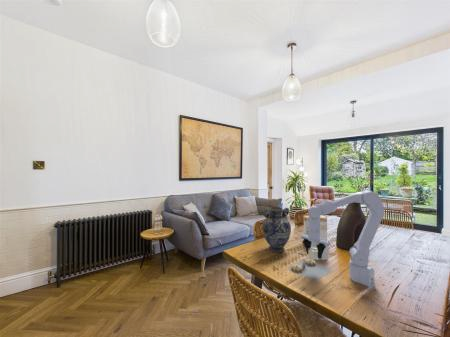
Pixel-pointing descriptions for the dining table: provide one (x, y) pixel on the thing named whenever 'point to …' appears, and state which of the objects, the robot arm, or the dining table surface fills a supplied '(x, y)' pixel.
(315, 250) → the octagonal pipe segment
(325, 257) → the photo printer
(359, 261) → the robot arm
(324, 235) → the coffeecake box
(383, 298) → the dining table surface
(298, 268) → the gear board
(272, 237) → the decorative vase
